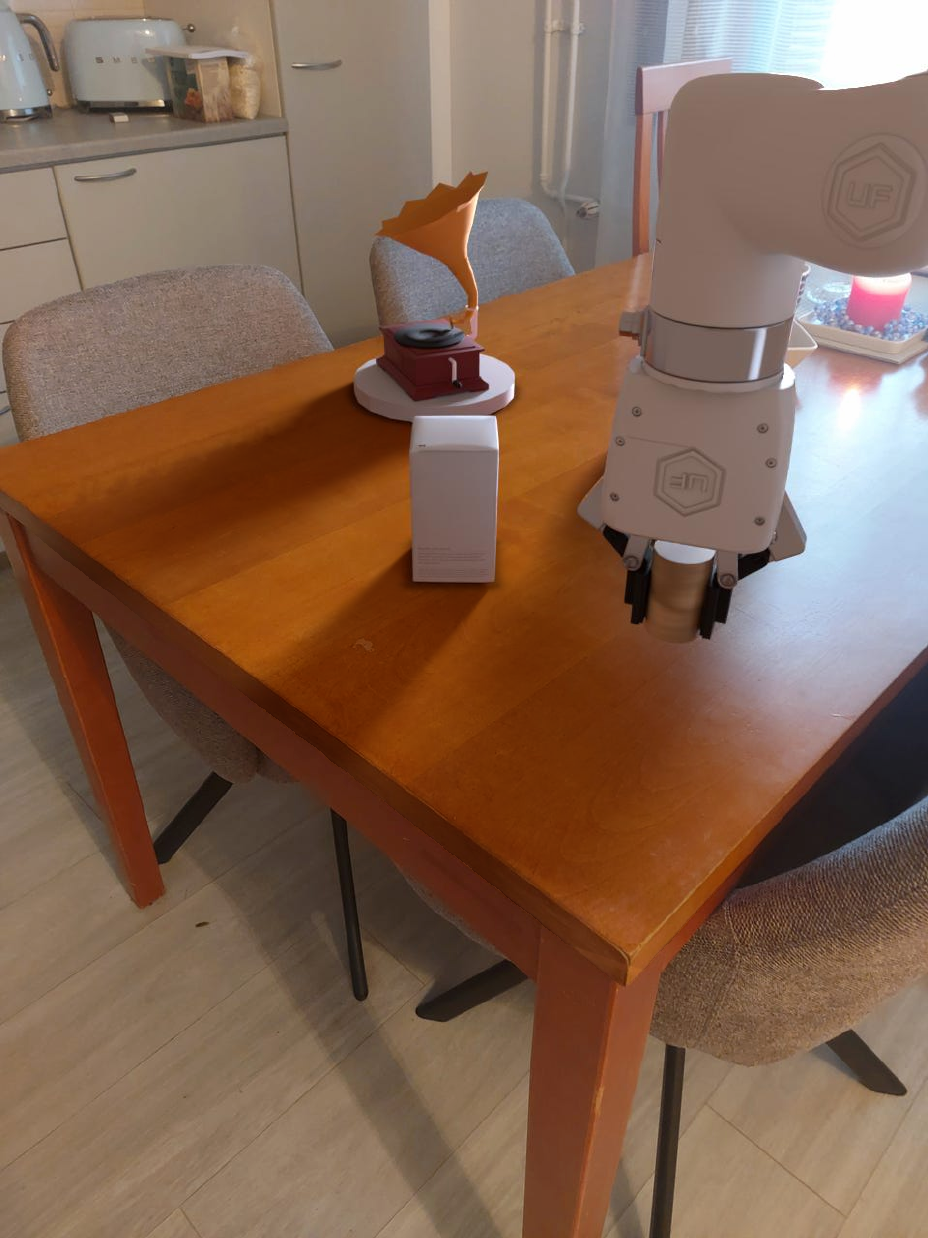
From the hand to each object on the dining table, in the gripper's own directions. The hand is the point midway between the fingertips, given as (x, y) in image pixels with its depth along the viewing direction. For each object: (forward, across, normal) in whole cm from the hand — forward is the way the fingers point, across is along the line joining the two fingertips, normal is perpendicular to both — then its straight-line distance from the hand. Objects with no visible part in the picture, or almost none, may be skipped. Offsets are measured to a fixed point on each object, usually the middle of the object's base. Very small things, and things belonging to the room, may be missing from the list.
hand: (674, 617), depth 58 cm
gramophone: (+8, -40, +51) cm, 65 cm away
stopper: (+1, 0, 0) cm, 1 cm away
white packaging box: (+9, -22, +14) cm, 27 cm away
